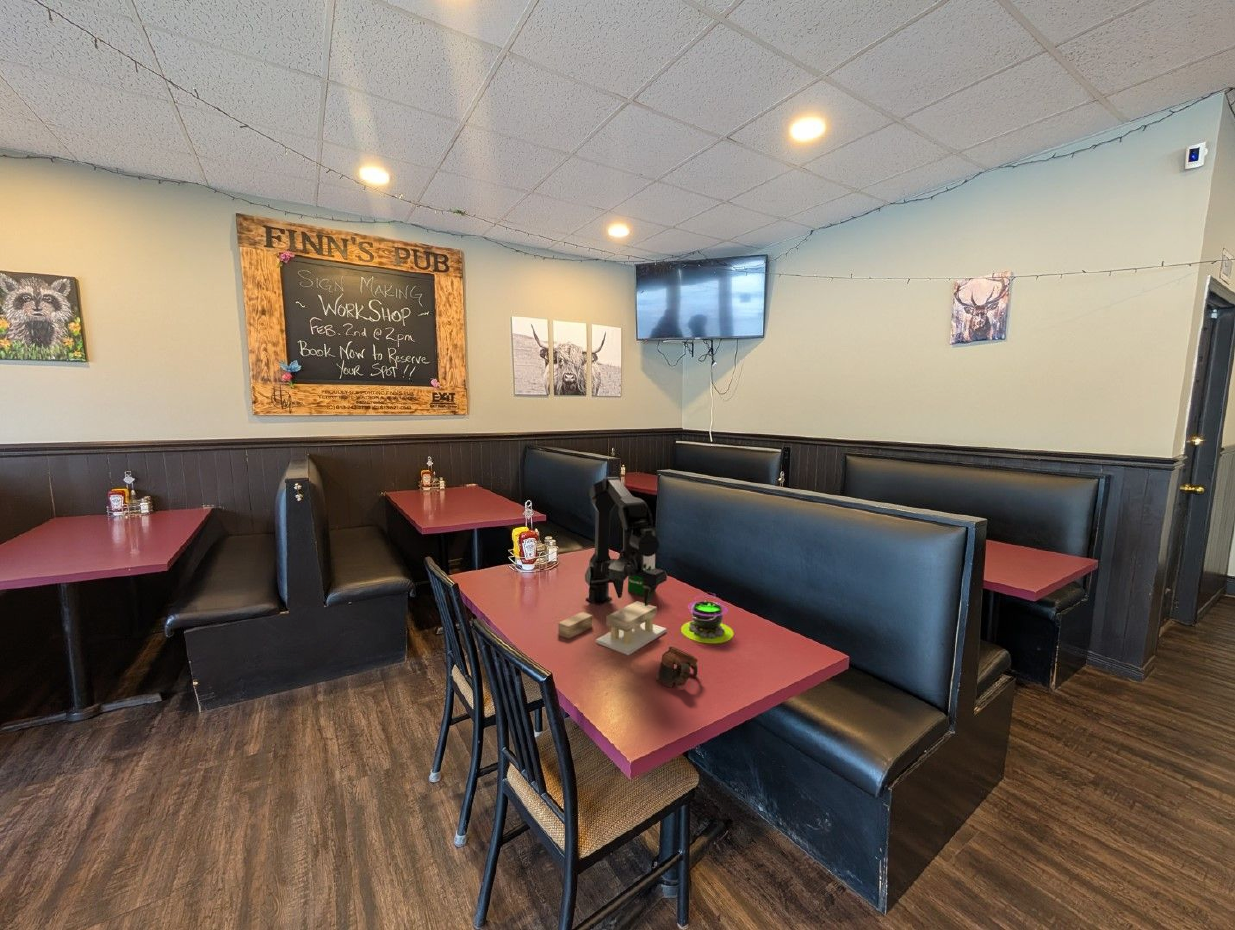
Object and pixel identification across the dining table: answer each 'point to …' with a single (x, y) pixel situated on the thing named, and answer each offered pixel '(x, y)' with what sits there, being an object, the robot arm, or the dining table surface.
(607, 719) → the dining table surface
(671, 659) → the pottery mug
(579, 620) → the block
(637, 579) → the milk carton
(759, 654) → the dining table surface
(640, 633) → the peg frame
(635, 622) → the board
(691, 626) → the toy cauldron
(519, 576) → the dining table surface
